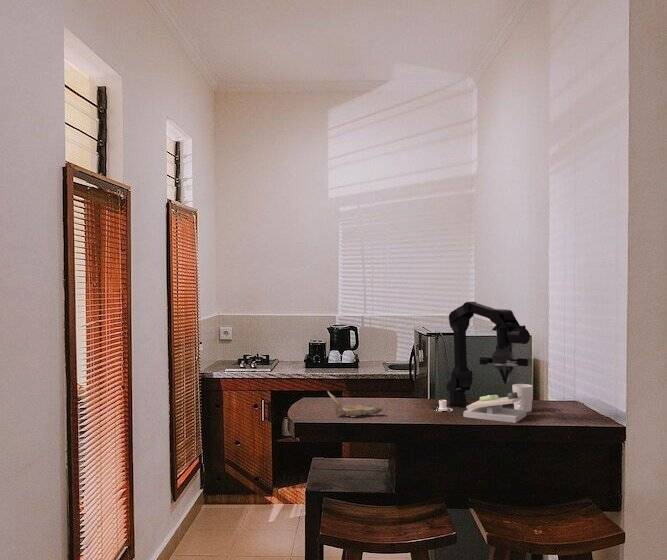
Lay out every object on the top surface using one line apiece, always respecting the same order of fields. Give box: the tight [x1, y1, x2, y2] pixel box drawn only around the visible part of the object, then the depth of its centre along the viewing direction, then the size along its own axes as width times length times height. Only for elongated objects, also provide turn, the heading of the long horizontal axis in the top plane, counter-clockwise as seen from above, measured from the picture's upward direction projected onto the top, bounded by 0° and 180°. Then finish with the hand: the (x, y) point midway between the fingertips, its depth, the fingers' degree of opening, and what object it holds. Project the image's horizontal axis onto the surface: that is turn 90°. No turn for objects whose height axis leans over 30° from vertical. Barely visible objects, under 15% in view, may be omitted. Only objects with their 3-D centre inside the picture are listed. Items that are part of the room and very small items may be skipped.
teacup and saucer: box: [435, 399, 454, 412], centre depth 250 cm, size 9×8×4 cm
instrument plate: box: [465, 391, 523, 410], centre depth 237 cm, size 18×13×3 cm
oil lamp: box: [327, 390, 383, 417], centre depth 241 cm, size 9×21×10 cm, turn 91°
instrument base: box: [462, 404, 528, 424], centre depth 237 cm, size 20×14×4 cm
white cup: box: [511, 383, 534, 413], centre depth 247 cm, size 8×8×10 cm
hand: (505, 383), depth 235 cm, fingers closed
